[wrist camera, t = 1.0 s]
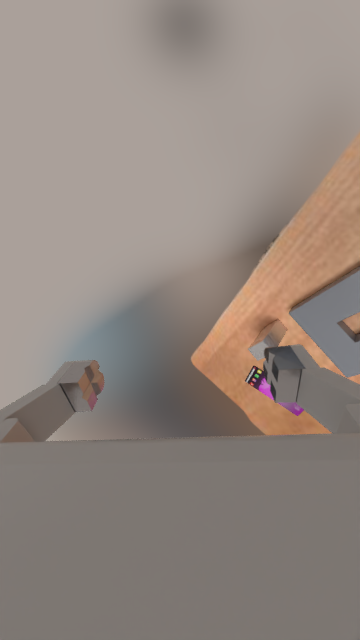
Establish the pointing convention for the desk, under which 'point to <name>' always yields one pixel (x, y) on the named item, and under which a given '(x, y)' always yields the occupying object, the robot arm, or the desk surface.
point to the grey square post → (268, 339)
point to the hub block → (334, 321)
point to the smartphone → (268, 389)
